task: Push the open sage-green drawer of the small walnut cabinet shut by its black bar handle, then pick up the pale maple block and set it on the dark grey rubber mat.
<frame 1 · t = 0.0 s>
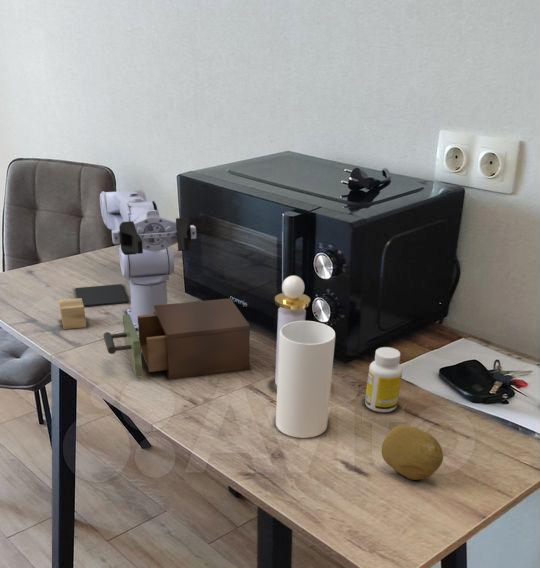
hand: (163, 245, 116), 22 cm above the table, tool horizontal, fingers open, 7 cm apart
mat: (101, 296, 153), on the table
potato: (407, 476, 102), on the table
perfume bottle: (287, 387, 122), on the table
block: (74, 323, 140), on the table
cabinet: (201, 358, 130), on the table
drawer: (155, 342, 125), point 4 cm above the table, slide at 4.5 cm
supplement bottle: (380, 405, 118), on the table
cup: (301, 424, 112), on the table
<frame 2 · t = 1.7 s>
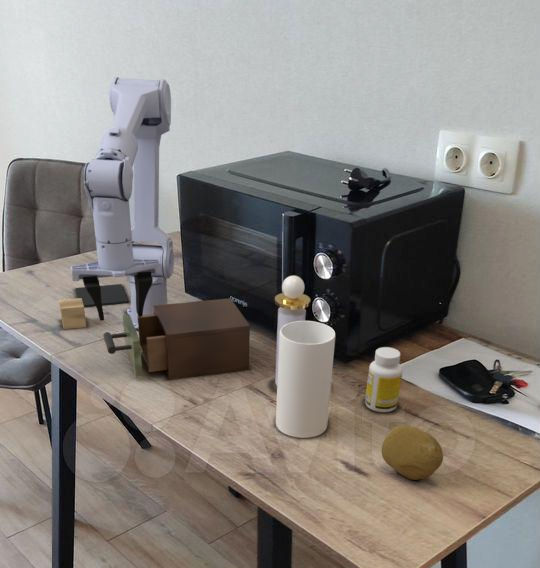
hand: (120, 316, 120), 10 cm above the table, tool pointing down, fingers open, 6 cm apart
nothing on the table moved.
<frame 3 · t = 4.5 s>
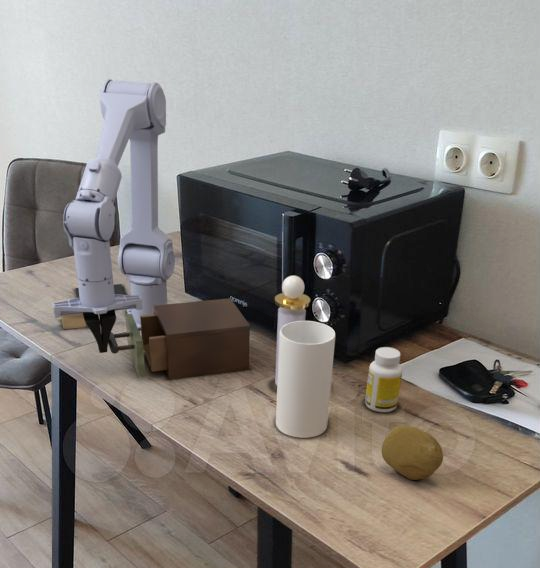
hand: (102, 350, 123), 4 cm above the table, tool pointing down, fingers closed
drawer: (158, 341, 125), point 4 cm above the table, slide at 4.0 cm, touching gripper
everything else where it was.
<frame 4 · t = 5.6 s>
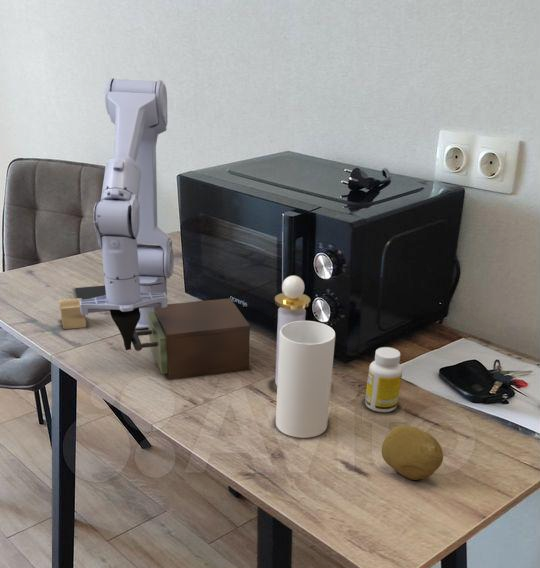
hand: (127, 347, 124), 4 cm above the table, tool pointing down, fingers closed, pressing on drawer
drawer: (180, 339, 126), point 4 cm above the table, slide at 0.0 cm, touching cabinet, gripper
everything else where it was.
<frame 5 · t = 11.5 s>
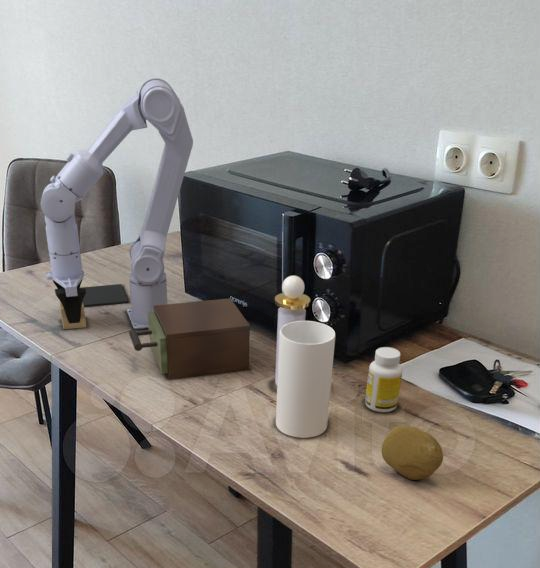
hand: (73, 317, 140), 1 cm above the table, tool pointing down, fingers closed on block, 4 cm apart
block: (74, 323, 140), on the table, touching gripper
drawer: (180, 339, 126), point 4 cm above the table, slide at 0.0 cm, touching cabinet
everything else where it was.
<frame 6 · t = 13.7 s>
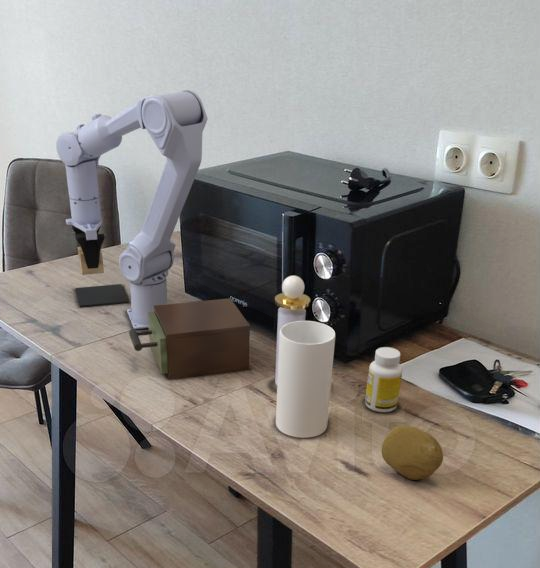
hand: (91, 263, 145), 8 cm above the table, tool pointing down, fingers closed on block, 4 cm apart
block: (91, 270, 146), point 7 cm above the table, touching gripper
everything else where it was.
when the fingers open (2 cm above the table, at t = 16.1 s): block stays where it is, resting on mat.
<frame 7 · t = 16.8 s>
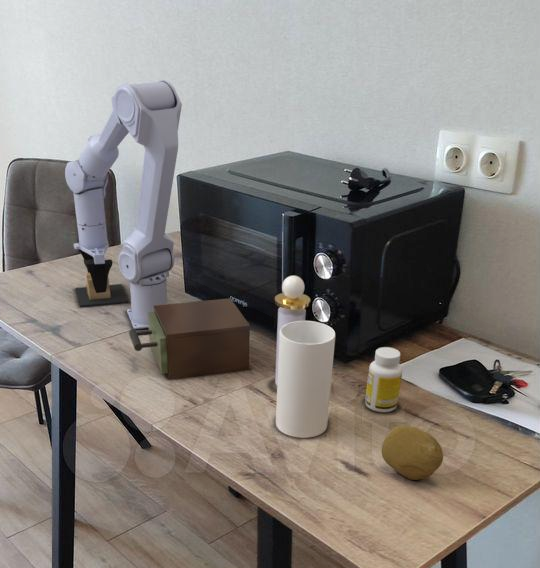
hand: (98, 285, 151), 3 cm above the table, tool pointing down, fingers open, 7 cm apart
block: (98, 295, 152), resting on mat
everything else where it was.
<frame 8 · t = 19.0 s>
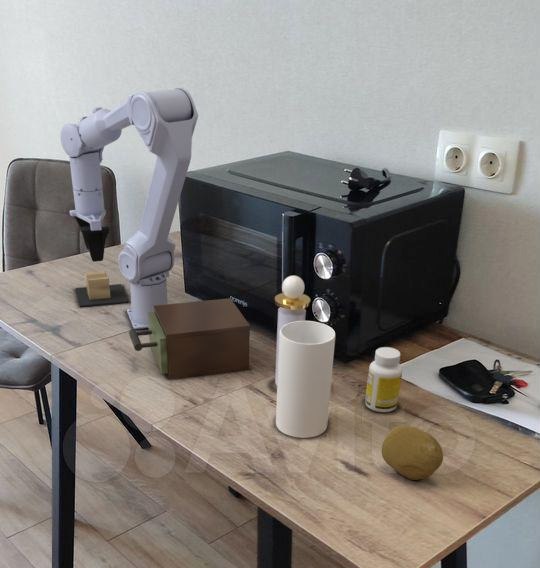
hand: (94, 254, 147), 9 cm above the table, tool pointing down, fingers open, 7 cm apart
nothing on the table moved.
at the end: drawer slide at 0.0 cm; block inside the target area on the mat (0.7 cm from its centre), point 0.4 cm above the mat's base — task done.
